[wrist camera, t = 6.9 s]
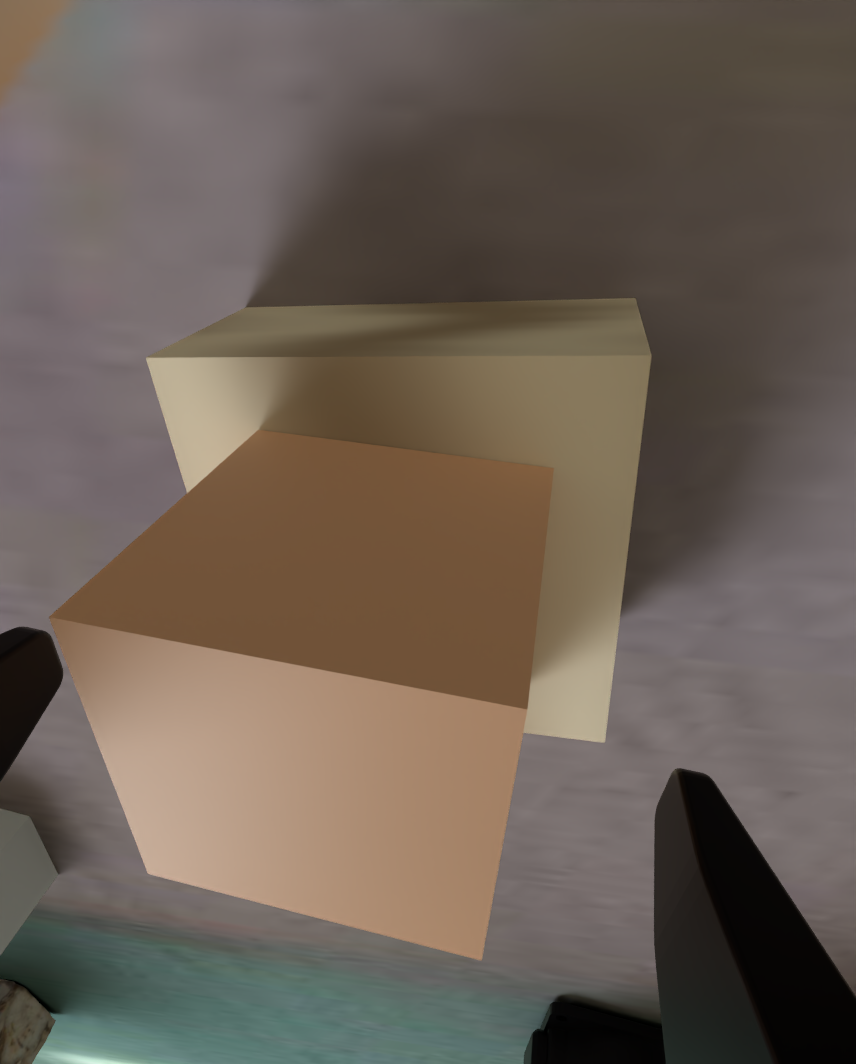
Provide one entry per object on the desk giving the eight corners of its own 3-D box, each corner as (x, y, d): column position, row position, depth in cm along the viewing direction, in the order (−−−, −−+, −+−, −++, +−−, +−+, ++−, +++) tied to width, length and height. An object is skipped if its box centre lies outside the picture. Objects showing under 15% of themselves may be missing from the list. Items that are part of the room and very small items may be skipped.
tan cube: (553, 467, 10) (527, 709, 6) (516, 689, 13) (481, 959, 8) (257, 429, 11) (48, 617, 7) (284, 645, 13) (148, 873, 9)
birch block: (634, 294, 12) (652, 355, 9) (601, 618, 16) (604, 742, 13) (252, 303, 14) (145, 357, 10) (312, 594, 18) (249, 698, 15)
